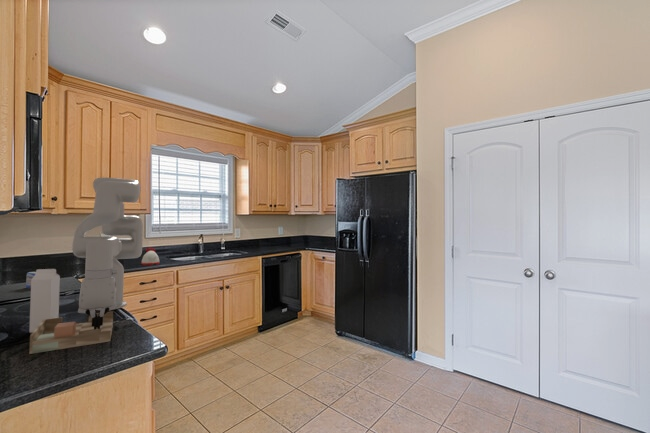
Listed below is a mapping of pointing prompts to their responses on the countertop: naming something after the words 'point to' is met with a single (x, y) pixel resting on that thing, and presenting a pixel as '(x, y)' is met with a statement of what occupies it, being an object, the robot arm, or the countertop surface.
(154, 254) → the kitchen timer
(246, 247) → the countertop surface
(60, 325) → the block
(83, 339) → the wooden cubby shelf
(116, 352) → the countertop surface
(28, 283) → the medicine box
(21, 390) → the countertop surface
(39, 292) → the milk
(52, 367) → the countertop surface
